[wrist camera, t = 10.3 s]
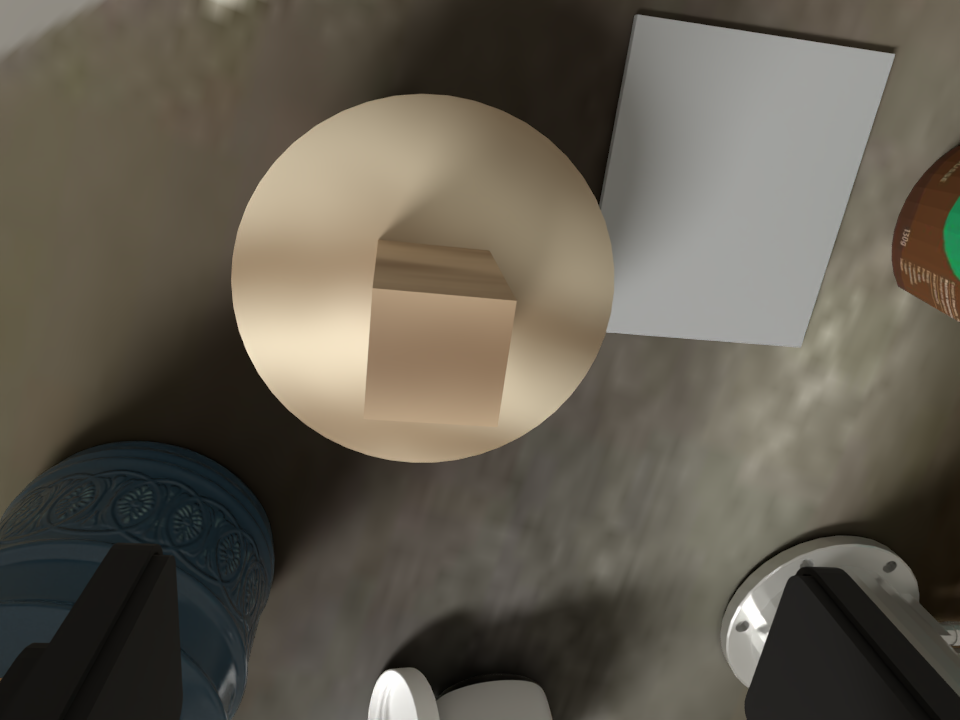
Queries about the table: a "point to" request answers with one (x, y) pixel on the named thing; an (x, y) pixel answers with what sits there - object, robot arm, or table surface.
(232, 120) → the table surface
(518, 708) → the spread jar
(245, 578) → the canister
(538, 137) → the lid
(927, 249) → the food container
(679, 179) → the mat
